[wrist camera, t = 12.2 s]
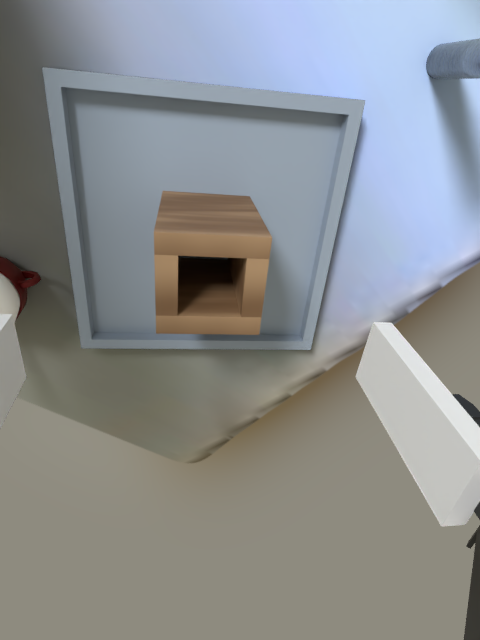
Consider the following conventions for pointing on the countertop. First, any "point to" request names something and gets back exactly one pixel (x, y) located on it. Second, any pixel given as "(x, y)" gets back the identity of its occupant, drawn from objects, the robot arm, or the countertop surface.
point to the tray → (196, 177)
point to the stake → (455, 60)
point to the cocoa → (14, 287)
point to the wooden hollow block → (209, 264)
